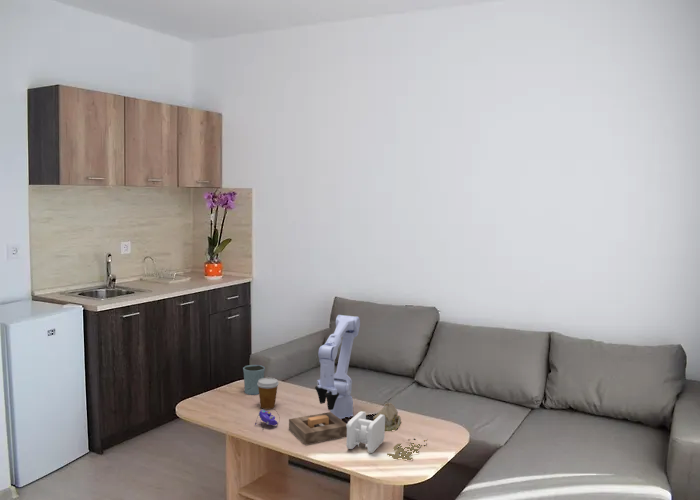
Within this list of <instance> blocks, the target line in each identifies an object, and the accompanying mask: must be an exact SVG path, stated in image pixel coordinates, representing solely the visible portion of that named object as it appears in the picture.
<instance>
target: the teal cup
mask: <svg viewBox="0 0 700 500" xmlns="http://www.w3.org/2000/svg"><path fill="white" fill-rule="evenodd" d="M265 367H266V366H263V365H260V364H250V365H249V364H248V365H245V366H244V367H242V371H243V381H244V382H243V383H244V385H243V386H244V394H245V395H248V396H257V395H258V396H259V388H258V385H257V383H258V380H260V379H262V378H265V371H266V370H265V369H266V368H265Z"/></svg>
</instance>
